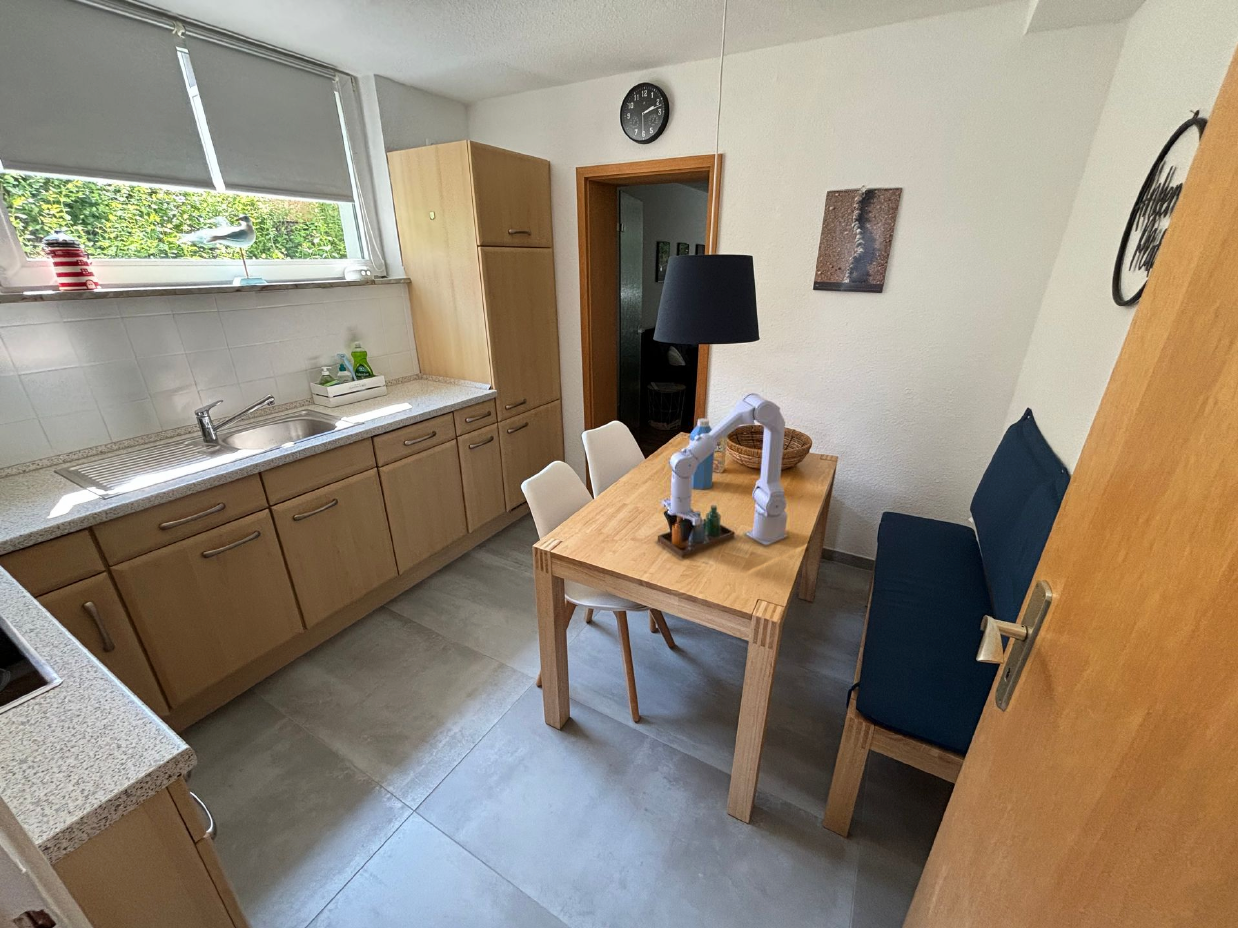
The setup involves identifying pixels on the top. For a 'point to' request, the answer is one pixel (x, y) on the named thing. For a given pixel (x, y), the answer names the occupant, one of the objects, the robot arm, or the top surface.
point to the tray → (696, 547)
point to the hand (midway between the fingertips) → (679, 536)
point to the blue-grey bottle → (697, 531)
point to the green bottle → (712, 522)
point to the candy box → (720, 455)
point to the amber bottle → (677, 534)
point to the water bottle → (705, 468)
